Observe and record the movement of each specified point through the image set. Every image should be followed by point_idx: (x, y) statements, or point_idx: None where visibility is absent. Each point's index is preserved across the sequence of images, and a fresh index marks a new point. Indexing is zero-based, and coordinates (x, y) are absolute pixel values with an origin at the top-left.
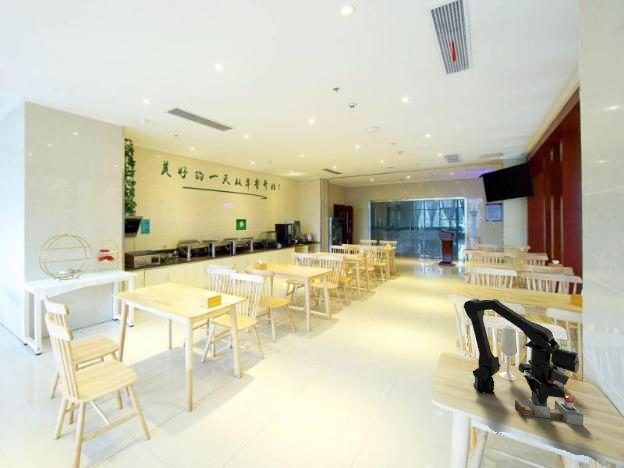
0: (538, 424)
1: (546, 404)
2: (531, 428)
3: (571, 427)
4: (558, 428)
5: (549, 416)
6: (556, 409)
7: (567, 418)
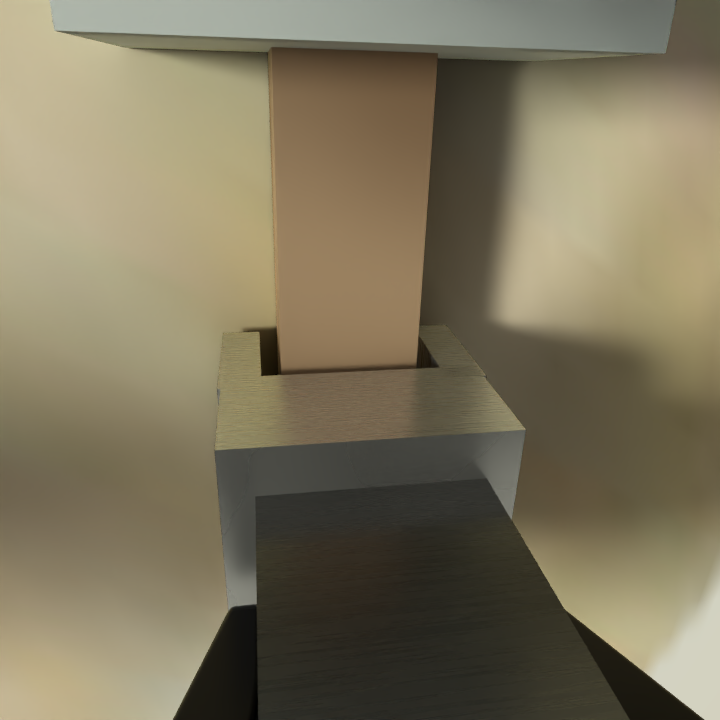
0: (567, 524)
1: (503, 514)
2: (634, 617)
3: (633, 63)
4: (647, 312)
5: (454, 342)
6: (276, 105)
7: (578, 58)
